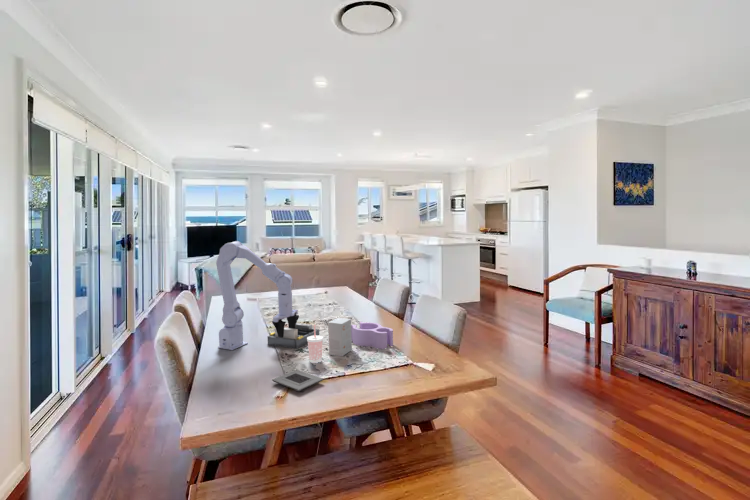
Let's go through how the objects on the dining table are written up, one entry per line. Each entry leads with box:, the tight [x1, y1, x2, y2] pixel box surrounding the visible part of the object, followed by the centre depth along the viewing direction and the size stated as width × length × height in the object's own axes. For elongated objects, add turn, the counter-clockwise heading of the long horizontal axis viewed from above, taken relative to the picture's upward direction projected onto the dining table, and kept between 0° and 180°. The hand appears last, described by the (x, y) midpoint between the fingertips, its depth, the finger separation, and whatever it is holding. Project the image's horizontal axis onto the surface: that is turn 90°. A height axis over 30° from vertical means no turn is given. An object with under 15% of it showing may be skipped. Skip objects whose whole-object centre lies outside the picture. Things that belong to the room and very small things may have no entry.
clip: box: [351, 321, 394, 350], centre depth 175 cm, size 20×12×7 cm, turn 49°
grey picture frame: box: [271, 369, 324, 392], centre depth 134 cm, size 13×10×2 cm
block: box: [274, 326, 298, 340], centre depth 174 cm, size 2×10×7 cm, turn 66°
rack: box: [267, 322, 320, 350], centre depth 179 cm, size 17×15×6 cm
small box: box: [327, 317, 353, 357], centre depth 163 cm, size 8×6×13 cm
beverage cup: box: [307, 324, 324, 364], centre depth 154 cm, size 6×6×14 cm
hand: (286, 334), depth 174 cm, fingers open, 7 cm apart
